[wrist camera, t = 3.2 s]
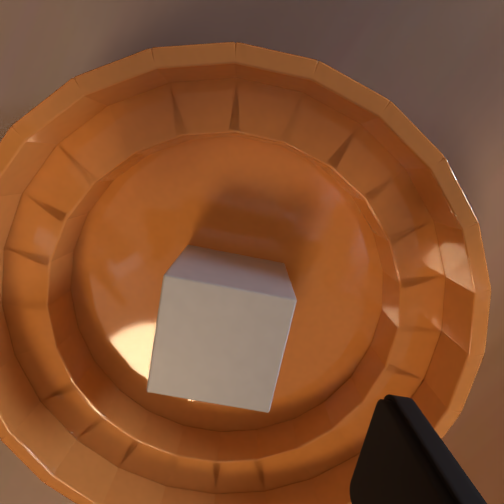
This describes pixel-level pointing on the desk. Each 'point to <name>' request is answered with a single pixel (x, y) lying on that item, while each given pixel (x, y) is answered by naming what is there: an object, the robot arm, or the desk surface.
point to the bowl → (232, 241)
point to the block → (221, 329)
